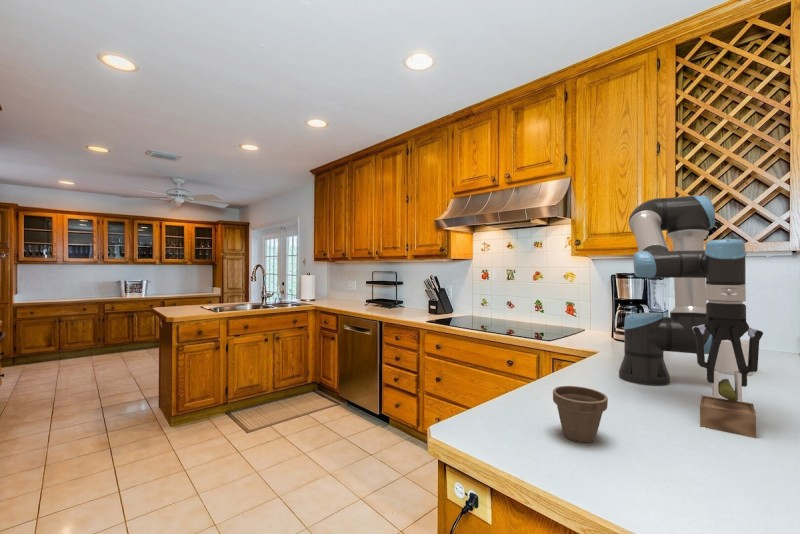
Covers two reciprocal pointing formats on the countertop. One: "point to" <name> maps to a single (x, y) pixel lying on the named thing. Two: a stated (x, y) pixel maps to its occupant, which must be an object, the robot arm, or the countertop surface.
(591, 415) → the flower pot
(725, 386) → the lime
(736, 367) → the cup
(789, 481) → the countertop surface
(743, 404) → the walnut tray
